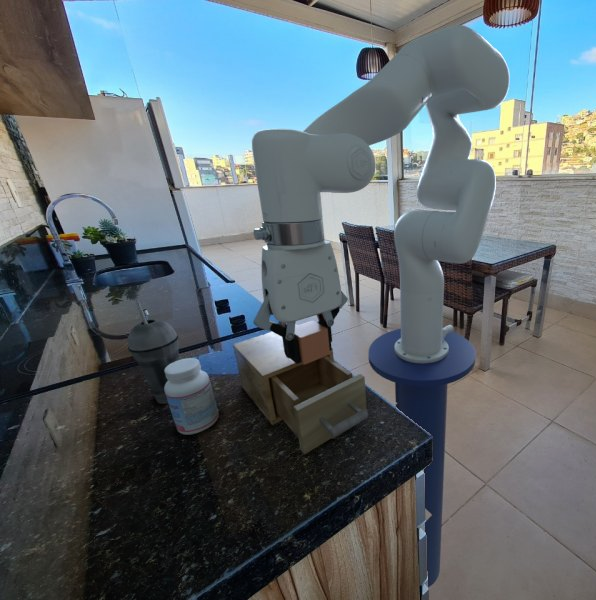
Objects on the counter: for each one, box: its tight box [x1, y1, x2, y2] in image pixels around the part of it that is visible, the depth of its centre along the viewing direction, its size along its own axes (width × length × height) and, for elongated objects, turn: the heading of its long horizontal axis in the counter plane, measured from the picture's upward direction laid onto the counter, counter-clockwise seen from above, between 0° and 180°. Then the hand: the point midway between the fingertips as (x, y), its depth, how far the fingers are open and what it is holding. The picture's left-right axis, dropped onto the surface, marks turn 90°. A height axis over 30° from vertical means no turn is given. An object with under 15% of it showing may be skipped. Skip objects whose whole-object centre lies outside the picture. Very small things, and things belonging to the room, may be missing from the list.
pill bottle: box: [164, 357, 220, 436], centre depth 52 cm, size 6×6×11 cm
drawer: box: [268, 356, 369, 455], centre depth 51 cm, size 18×11×8 cm, turn 43°
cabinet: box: [232, 323, 335, 426], centre depth 60 cm, size 15×13×10 cm
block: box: [294, 320, 330, 365], centre depth 48 cm, size 4×4×4 cm
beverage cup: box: [127, 298, 181, 405], centre depth 57 cm, size 7×7×20 cm
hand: (310, 352), depth 49 cm, fingers closed on block, 4 cm apart
